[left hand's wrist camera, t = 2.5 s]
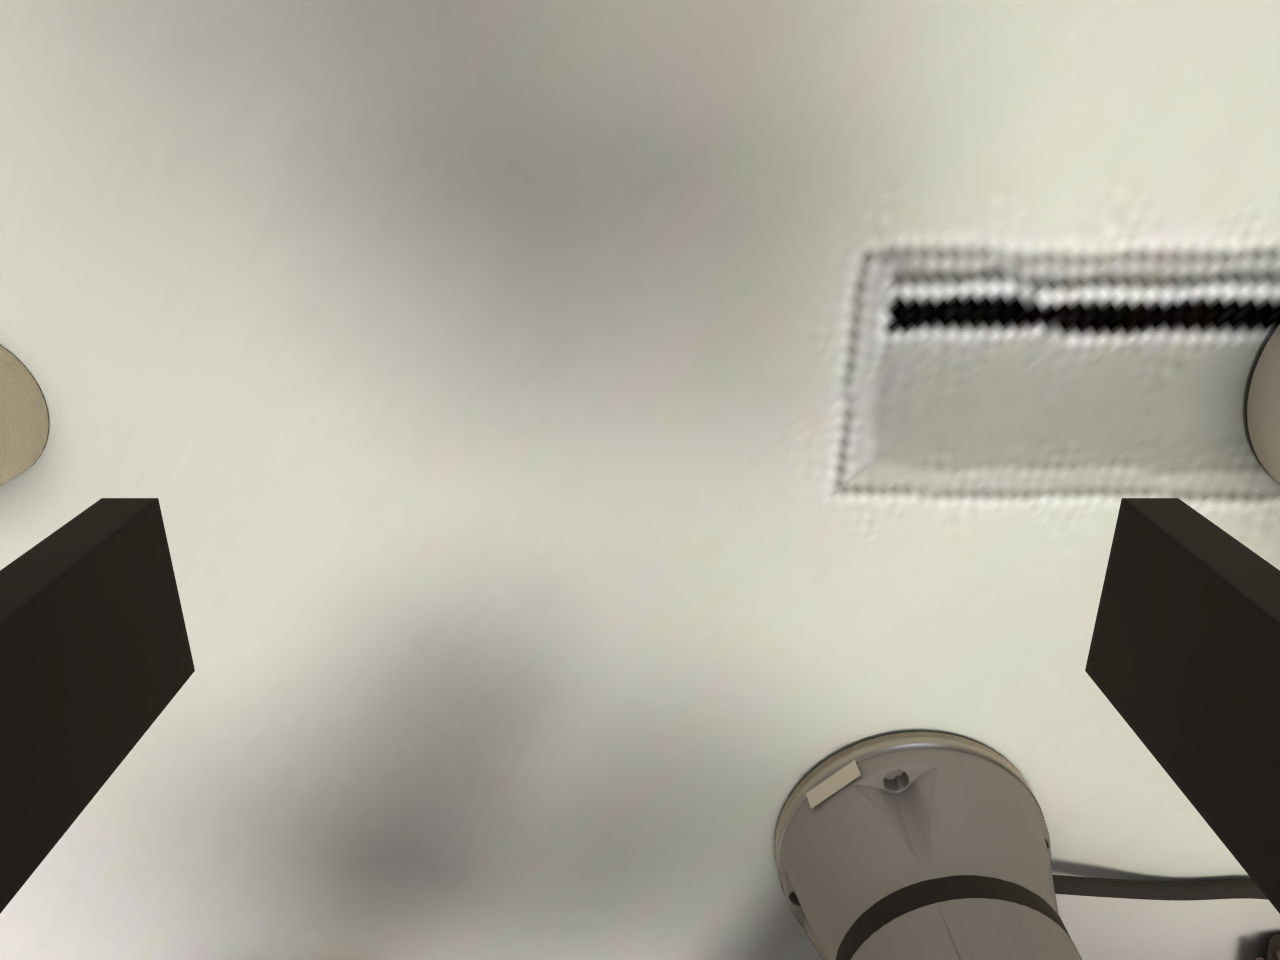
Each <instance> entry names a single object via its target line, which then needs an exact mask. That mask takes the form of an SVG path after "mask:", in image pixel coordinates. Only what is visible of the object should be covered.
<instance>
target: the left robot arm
mask: <svg viewBox="0 0 1280 960" xmlns="http://www.w3.org/2000/svg"><path fill="white" fill-rule="evenodd" d="M194 671H195V669H194V665H193V660H192V655H191V651H190V646H189V641H188V637H187V632H186V627H185V622H184V618H183V613H182V608H181V604H180V599H179V594H178V590H177V585H176V580H175V575H174V571H173V566H172V561H171V557H170V552H169V547H168V543H167V538H166V533H165V528H164V524H163V519H162V514H161V510H160V505H159V500H158V498H102V499H100V500H99V501H97V502H96V503H95V504H93V505H92V506H90V507H89V508H88V509H86V510H85V511H83V512H82V513H81V514H79V515H78V516H76V517H75V518H74V519H72V520H71V521H69V522H68V523H67V524H65V525H64V526H62V527H61V528H60V529H58V530H57V531H55V532H54V533H53V534H51V535H50V536H48V537H47V538H46V539H44V540H43V541H41V542H40V543H39V544H37V545H36V546H34V547H33V548H32V549H30V550H29V551H27V552H26V553H24V554H23V555H22V556H20V557H19V558H17V559H16V560H15V561H13V562H12V563H10V564H9V565H8V566H6V567H5V568H3V569H2V570H1V571H0V913H1V912H2V911H3V909H4V908H5V907H6V906H7V904H8V903H9V902H10V901H11V899H12V898H13V897H14V896H15V894H16V893H17V892H18V891H19V889H20V888H21V887H22V886H23V884H24V883H25V882H26V881H27V879H28V878H29V877H30V876H31V874H32V873H33V872H34V871H35V869H36V868H37V867H38V866H39V864H40V863H41V862H42V861H43V859H44V858H45V857H46V856H47V854H48V853H49V852H50V851H51V849H52V848H53V847H54V846H55V844H56V843H57V842H58V841H59V839H60V838H61V837H62V836H63V835H64V833H65V832H66V831H67V830H68V828H69V827H70V826H71V825H72V823H73V822H74V821H75V820H76V818H77V817H78V816H79V815H80V813H81V812H82V811H83V810H84V808H85V807H86V806H87V805H88V803H89V802H90V801H91V800H92V798H93V797H94V796H95V795H96V793H97V792H98V791H99V790H100V788H101V787H102V786H103V785H104V783H105V782H106V781H107V780H108V778H109V777H110V776H111V775H112V773H113V772H114V771H115V770H116V768H117V767H118V766H119V765H120V763H121V762H122V761H123V760H124V758H125V757H126V756H127V755H128V753H129V752H130V751H131V750H132V748H133V747H134V746H135V745H136V743H137V742H138V741H139V740H140V738H141V737H142V736H143V735H144V733H145V732H146V731H147V730H148V728H149V727H150V726H151V725H152V723H153V722H154V721H155V720H156V718H157V717H158V716H159V715H160V713H161V712H162V711H163V710H164V708H165V707H166V706H167V705H168V703H169V702H170V701H171V700H172V698H173V697H174V696H175V695H176V693H177V692H178V691H179V690H180V688H181V687H182V686H183V685H184V683H185V682H186V681H187V680H188V678H189V677H190V676H191V675H192V673H193V672H194ZM1085 671H1086V672H1087V673H1088V675H1089V676H1090V677H1091V678H1092V680H1093V681H1094V682H1095V683H1096V685H1097V686H1098V687H1099V688H1100V690H1101V691H1102V692H1103V693H1104V695H1105V696H1106V697H1107V698H1108V700H1109V701H1110V702H1111V703H1112V705H1113V706H1114V707H1115V708H1116V710H1117V711H1118V712H1119V713H1120V715H1121V716H1122V717H1123V718H1124V720H1125V721H1126V722H1127V723H1128V725H1129V726H1130V727H1131V728H1132V730H1133V731H1134V732H1135V733H1136V735H1137V736H1138V737H1139V738H1140V740H1141V741H1142V742H1143V743H1144V745H1145V746H1146V747H1147V748H1148V750H1149V751H1150V752H1151V753H1152V755H1153V756H1154V757H1155V758H1156V760H1157V761H1158V762H1159V763H1160V765H1161V766H1162V767H1163V768H1164V770H1165V771H1166V772H1167V773H1168V775H1169V776H1170V777H1171V778H1172V780H1173V781H1174V782H1175V783H1176V785H1177V786H1178V787H1179V788H1180V790H1181V791H1182V792H1183V793H1184V795H1185V796H1186V797H1187V798H1188V800H1189V801H1190V802H1191V803H1192V805H1193V806H1194V807H1195V808H1196V810H1197V811H1198V812H1199V813H1200V815H1201V816H1202V817H1203V818H1204V820H1205V821H1206V822H1207V823H1208V825H1209V826H1210V827H1211V828H1212V830H1213V831H1214V832H1215V833H1216V835H1217V836H1218V837H1219V838H1220V839H1221V841H1222V842H1223V843H1224V844H1225V846H1226V847H1227V848H1228V849H1229V851H1230V852H1231V853H1232V854H1233V856H1234V857H1235V858H1236V859H1237V861H1238V862H1239V863H1240V864H1241V866H1242V867H1243V868H1244V869H1245V871H1246V872H1247V873H1248V874H1249V876H1250V877H1251V878H1252V879H1253V881H1254V882H1255V883H1256V884H1257V886H1258V887H1259V888H1260V889H1261V891H1262V892H1263V893H1264V894H1265V896H1266V897H1267V898H1268V899H1269V901H1270V902H1271V903H1272V904H1273V906H1274V907H1275V908H1276V909H1277V911H1278V912H1279V913H1280V571H1279V570H1278V569H1277V568H1275V567H1274V566H1272V565H1271V564H1270V563H1268V562H1267V561H1265V560H1264V559H1263V558H1261V557H1260V556H1258V555H1257V554H1256V553H1254V552H1253V551H1251V550H1250V549H1248V548H1247V547H1246V546H1244V545H1243V544H1241V543H1240V542H1239V541H1237V540H1236V539H1234V538H1233V537H1232V536H1230V535H1229V534H1227V533H1226V532H1225V531H1223V530H1222V529H1220V528H1219V527H1218V526H1216V525H1215V524H1213V523H1212V522H1211V521H1209V520H1208V519H1206V518H1205V517H1204V516H1202V515H1201V514H1199V513H1198V512H1197V511H1195V510H1194V509H1192V508H1191V507H1190V506H1188V505H1187V504H1185V503H1184V502H1183V501H1181V500H1180V499H1178V498H1122V500H1121V505H1120V510H1119V514H1118V519H1117V524H1116V528H1115V533H1114V538H1113V543H1112V547H1111V552H1110V557H1109V561H1108V566H1107V571H1106V575H1105V580H1104V585H1103V590H1102V594H1101V599H1100V604H1099V608H1098V613H1097V618H1096V622H1095V627H1094V632H1093V637H1092V641H1091V646H1090V651H1089V655H1088V660H1087V665H1086V669H1085Z"/></svg>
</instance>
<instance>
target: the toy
mask: <svg viewBox="0 0 1280 960" xmlns="http://www.w3.org/2000/svg"><path fill="white" fill-rule="evenodd" d="M1256 960H1263V958H1262V957H1258V958H1256ZM1267 960H1280V935H1273V936H1272V938H1271V939H1270V941H1269V947H1268V954H1267Z"/></svg>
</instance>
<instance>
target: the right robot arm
mask: <svg viewBox="0 0 1280 960" xmlns="http://www.w3.org/2000/svg"><path fill="white" fill-rule="evenodd" d="M775 855H776V862H777V867H778V873H779V878H780V882H781V886H782V888H783V891H784V894H785V896H786V899H787V901H788V903H789V906H790V908H791V910H792V911H793V913H794V915H795V916H796V918H797V919H798V921H799V922H800V924H801V925H802V926H803V928H804V929H805V931H806V933H807V935H808V937H809V938H810V940H811V942H812V943H813V945H814V946H815V948H816V950H817V951H818V953H819V954H820V956H821V957H822V959H823V960H1082V958H1081V956H1080V954H1079V953H1078V951H1077V949H1076V947H1075V945H1074V943H1073V941H1072V940H1071V938H1070V936H1069V934H1068V932H1067V930H1066V928H1065V926H1064V924H1063V922H1062V920H1061V918H1060V916H1059V914H1058V908H1057V902H1056V896H1055V894H1067V895H1081V896H1096V897H1113V898H1130V899H1150V900H1209V899H1231V898H1255V899H1268V898H1267V897H1266V896H1265V894H1264V893H1263V892H1262V891H1261V889H1260V888H1259V887H1258V886H1257V884H1256V883H1255V882H1254V881H1253V880H1224V881H1203V882H1154V881H1134V880H1118V879H1103V878H1088V877H1075V876H1062V875H1052V871H1051V866H1050V864H1051V850H1050V839H1049V833H1048V829H1047V826H1046V823H1045V820H1044V816H1043V814H1042V811H1041V808H1040V806H1039V804H1038V802H1037V801H1036V799H1035V797H1034V795H1033V793H1032V792H1031V790H1030V788H1029V787H1028V785H1027V783H1026V782H1025V780H1024V779H1023V777H1022V776H1021V774H1020V773H1019V772H1018V771H1017V770H1016V769H1015V768H1014V766H1013V765H1012V764H1010V763H1009V762H1008V761H1007V760H1006V759H1005V758H1003V757H1002V756H1001V755H999V754H998V753H996V752H995V751H993V750H991V749H989V748H988V747H986V746H984V745H982V744H979V743H977V742H975V741H972V740H969V739H966V738H963V737H959V736H954V735H950V734H944V733H936V732H905V733H896V734H890V735H885V736H880V737H877V738H873V739H869V740H866V741H863V742H861V743H858V744H855V745H853V746H851V747H849V748H846V749H844V750H842V751H840V752H839V753H837V754H835V755H833V756H832V757H830V758H829V759H827V760H826V761H824V762H823V763H821V764H820V765H819V766H817V767H816V768H815V769H814V770H813V771H811V772H810V773H809V774H808V775H807V776H806V777H805V778H804V779H803V780H802V781H801V783H800V784H799V785H798V786H797V787H796V788H795V790H794V791H793V793H792V794H791V796H790V797H789V799H788V800H787V802H786V804H785V806H784V808H783V810H782V813H781V815H780V818H779V821H778V825H777V828H776V835H775Z"/></svg>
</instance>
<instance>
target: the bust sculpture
mask: <svg viewBox="0 0 1280 960" xmlns="http://www.w3.org/2000/svg"><path fill="white" fill-rule="evenodd" d="M1247 421H1248V430H1249V435H1250V439H1251V442H1252V446H1253V448H1254V451H1255V453H1256V455H1257V457H1258V459H1259V461H1260V462H1261V464H1262V465H1263V467H1264V468H1265V470H1266V471H1267V472H1268V473H1269V474H1270V476H1271V477H1272V478H1273V479H1274V480H1275V481H1277V482H1278V483H1279V484H1280V325H1279V326H1278V327H1277V329H1276V330H1275V332H1274V333H1273V335H1272V336H1271V338H1270V339H1269V341H1268V343H1267V345H1266V346H1265V348H1264V350H1263V352H1262V354H1261V356H1260V358H1259V361H1258V363H1257V366H1256V368H1255V371H1254V374H1253V377H1252V381H1251V385H1250V390H1249V395H1248V404H1247Z"/></svg>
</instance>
